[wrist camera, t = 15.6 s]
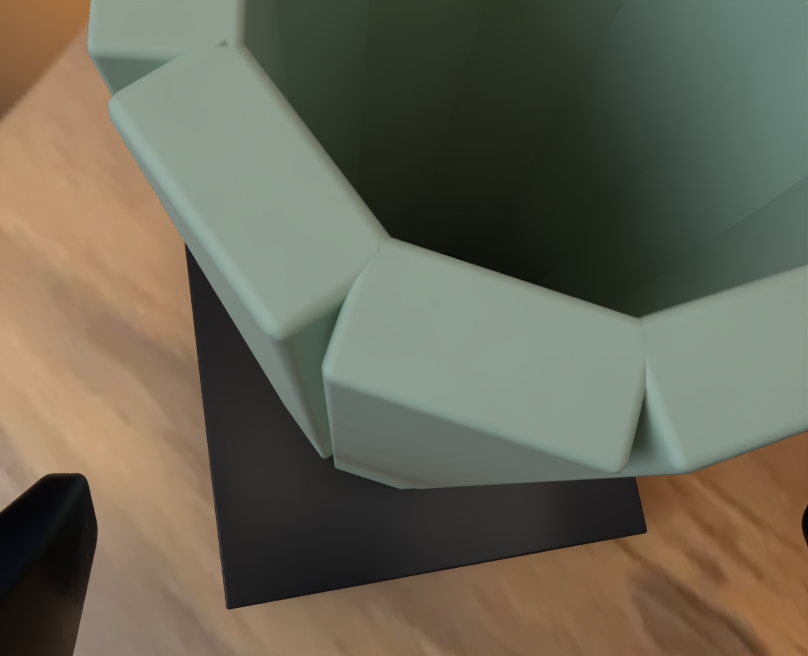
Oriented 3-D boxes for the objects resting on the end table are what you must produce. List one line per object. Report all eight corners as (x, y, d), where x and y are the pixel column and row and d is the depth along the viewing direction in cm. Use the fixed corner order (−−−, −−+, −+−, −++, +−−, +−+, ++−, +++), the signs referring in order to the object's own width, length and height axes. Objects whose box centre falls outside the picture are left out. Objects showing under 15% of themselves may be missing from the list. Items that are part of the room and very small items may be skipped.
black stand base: (233, 602, 17) (175, 663, 11) (188, 212, 18) (115, 75, 12) (627, 530, 18) (777, 549, 12) (549, 168, 19) (645, 22, 13)
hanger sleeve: (497, 520, 16) (1046, 614, 4) (238, 436, 16) (-116, 237, 4) (563, 279, 18) (1142, -270, 5) (324, 201, 18) (286, -565, 5)
